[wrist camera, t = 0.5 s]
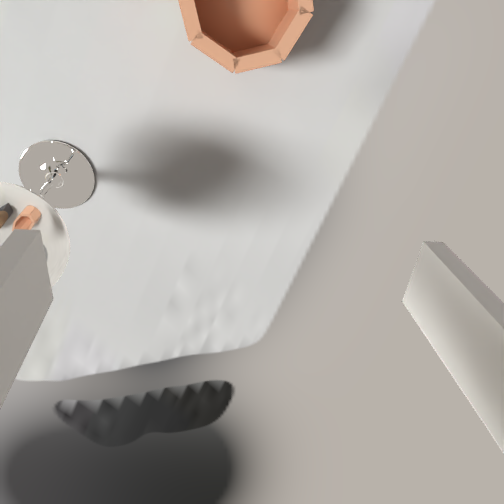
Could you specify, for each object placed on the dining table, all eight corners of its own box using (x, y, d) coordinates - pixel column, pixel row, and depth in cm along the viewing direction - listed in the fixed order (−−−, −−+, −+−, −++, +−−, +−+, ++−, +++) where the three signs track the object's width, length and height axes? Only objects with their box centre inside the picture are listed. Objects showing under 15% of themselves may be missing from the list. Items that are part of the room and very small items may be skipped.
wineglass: (98, 130, 36) (21, 227, 20) (111, 216, 40) (54, 350, 24) (-3, 128, 35) (-164, 228, 19) (21, 216, 39) (-96, 356, 23)
